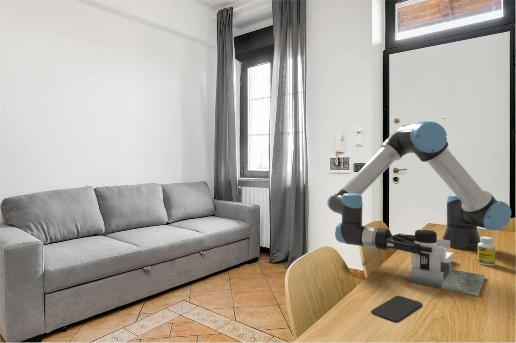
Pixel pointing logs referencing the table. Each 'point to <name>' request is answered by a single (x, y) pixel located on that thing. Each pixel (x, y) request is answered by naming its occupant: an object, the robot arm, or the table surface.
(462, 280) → the board
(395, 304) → the phone
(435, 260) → the container
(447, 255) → the bracket
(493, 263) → the supplement bottle
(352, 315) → the table surface
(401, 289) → the table surface
